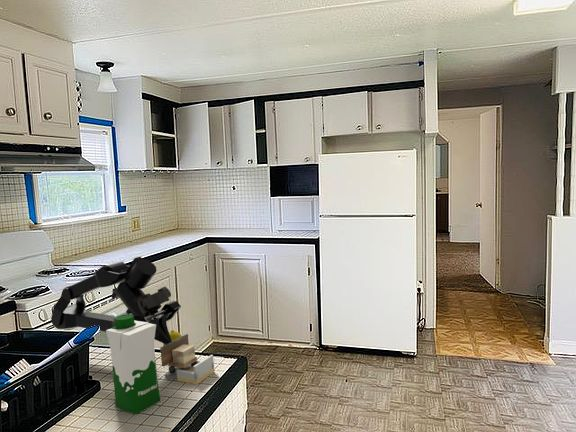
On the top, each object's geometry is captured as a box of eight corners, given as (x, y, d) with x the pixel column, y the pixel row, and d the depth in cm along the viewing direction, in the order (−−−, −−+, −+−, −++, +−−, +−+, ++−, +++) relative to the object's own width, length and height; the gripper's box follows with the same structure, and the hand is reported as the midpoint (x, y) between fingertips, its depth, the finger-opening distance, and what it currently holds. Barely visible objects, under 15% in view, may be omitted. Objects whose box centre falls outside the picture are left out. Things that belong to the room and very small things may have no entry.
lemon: (181, 361, 125) (179, 333, 125) (162, 361, 125) (159, 334, 125) (186, 353, 131) (184, 326, 130) (167, 354, 131) (165, 327, 130)
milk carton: (140, 391, 108) (133, 310, 106) (167, 399, 103) (160, 314, 101) (109, 408, 100) (100, 321, 99) (136, 418, 96) (127, 326, 94)
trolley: (162, 376, 113) (159, 347, 112) (187, 361, 122) (185, 333, 121) (178, 379, 111) (176, 349, 110) (203, 363, 120) (201, 335, 119)
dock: (165, 378, 115) (163, 361, 114) (184, 366, 121) (182, 350, 121) (196, 384, 110) (195, 366, 110) (214, 371, 117) (213, 355, 116)
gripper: (121, 288, 110) (160, 337, 106) (173, 272, 127) (207, 313, 123) (102, 317, 114) (138, 364, 110) (154, 297, 131) (187, 338, 127)
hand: (170, 343), depth 118 cm, fingers closed
